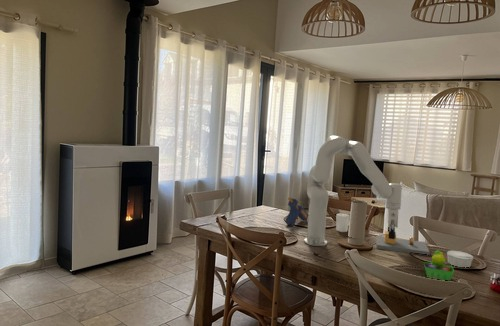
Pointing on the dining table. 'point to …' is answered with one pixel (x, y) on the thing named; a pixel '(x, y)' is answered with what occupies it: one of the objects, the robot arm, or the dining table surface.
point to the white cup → (342, 222)
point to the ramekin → (459, 258)
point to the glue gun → (295, 212)
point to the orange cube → (388, 238)
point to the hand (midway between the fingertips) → (391, 236)
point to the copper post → (411, 241)
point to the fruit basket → (438, 267)
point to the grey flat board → (402, 246)
